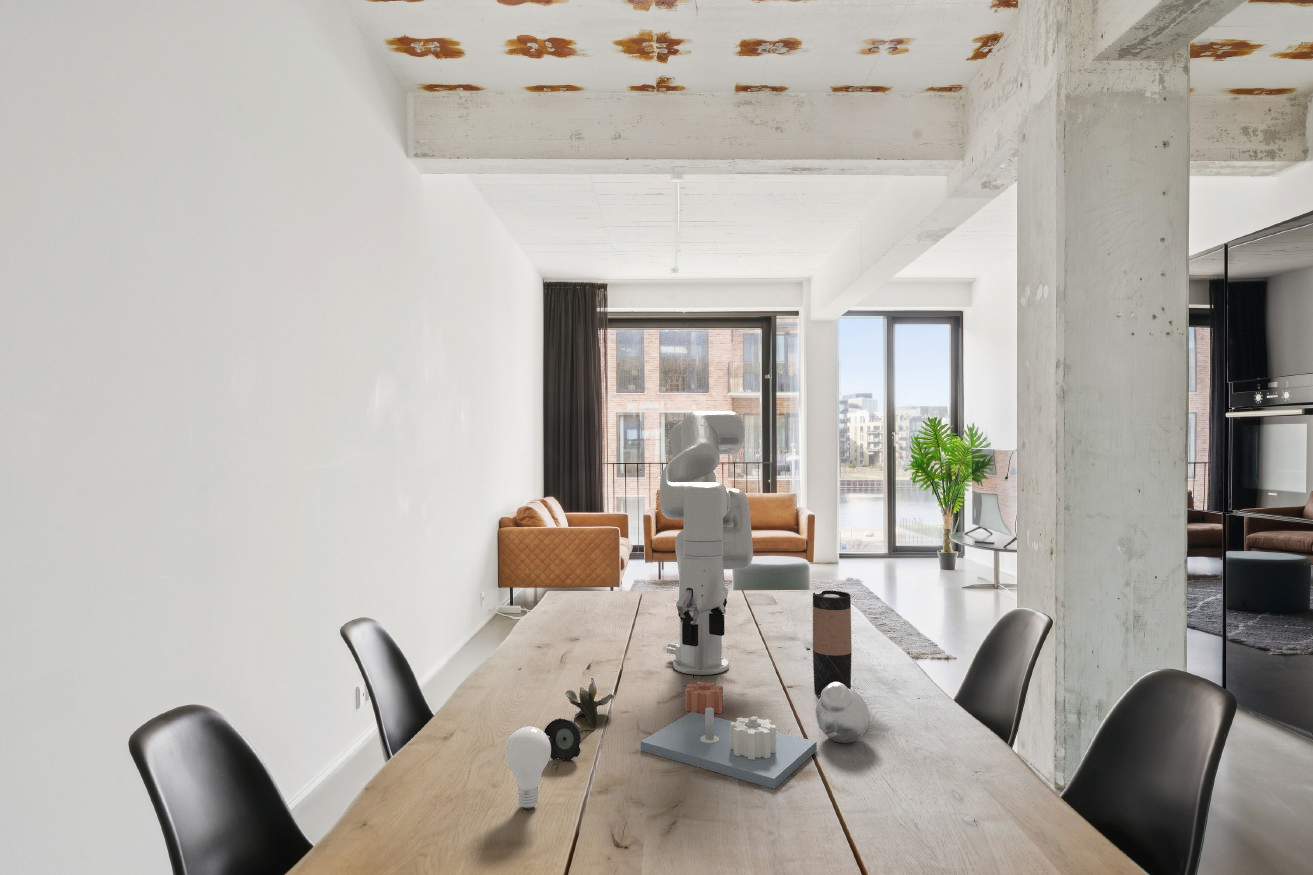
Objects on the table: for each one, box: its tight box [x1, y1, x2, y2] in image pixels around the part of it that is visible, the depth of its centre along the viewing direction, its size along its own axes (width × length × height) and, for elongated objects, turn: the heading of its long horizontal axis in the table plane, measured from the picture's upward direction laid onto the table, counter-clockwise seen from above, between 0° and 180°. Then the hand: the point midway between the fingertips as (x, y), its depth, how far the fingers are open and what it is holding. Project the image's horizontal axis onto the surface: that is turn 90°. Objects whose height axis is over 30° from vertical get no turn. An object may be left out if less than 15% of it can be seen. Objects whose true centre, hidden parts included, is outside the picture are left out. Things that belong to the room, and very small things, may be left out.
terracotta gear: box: [684, 681, 724, 715], centre depth 138 cm, size 7×7×4 cm
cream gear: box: [730, 716, 777, 760], centre depth 115 cm, size 7×7×4 cm
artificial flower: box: [543, 677, 615, 762], centre depth 127 cm, size 9×22×10 cm, turn 165°
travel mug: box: [812, 589, 853, 697], centre depth 147 cm, size 8×8×20 cm
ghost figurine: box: [815, 682, 870, 744], centre depth 123 cm, size 9×10×10 cm
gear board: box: [640, 708, 818, 790], centre depth 119 cm, size 24×16×6 cm, turn 55°
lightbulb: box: [504, 725, 551, 810], centre depth 101 cm, size 6×6×11 cm
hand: (703, 639), depth 138 cm, fingers open, 9 cm apart
